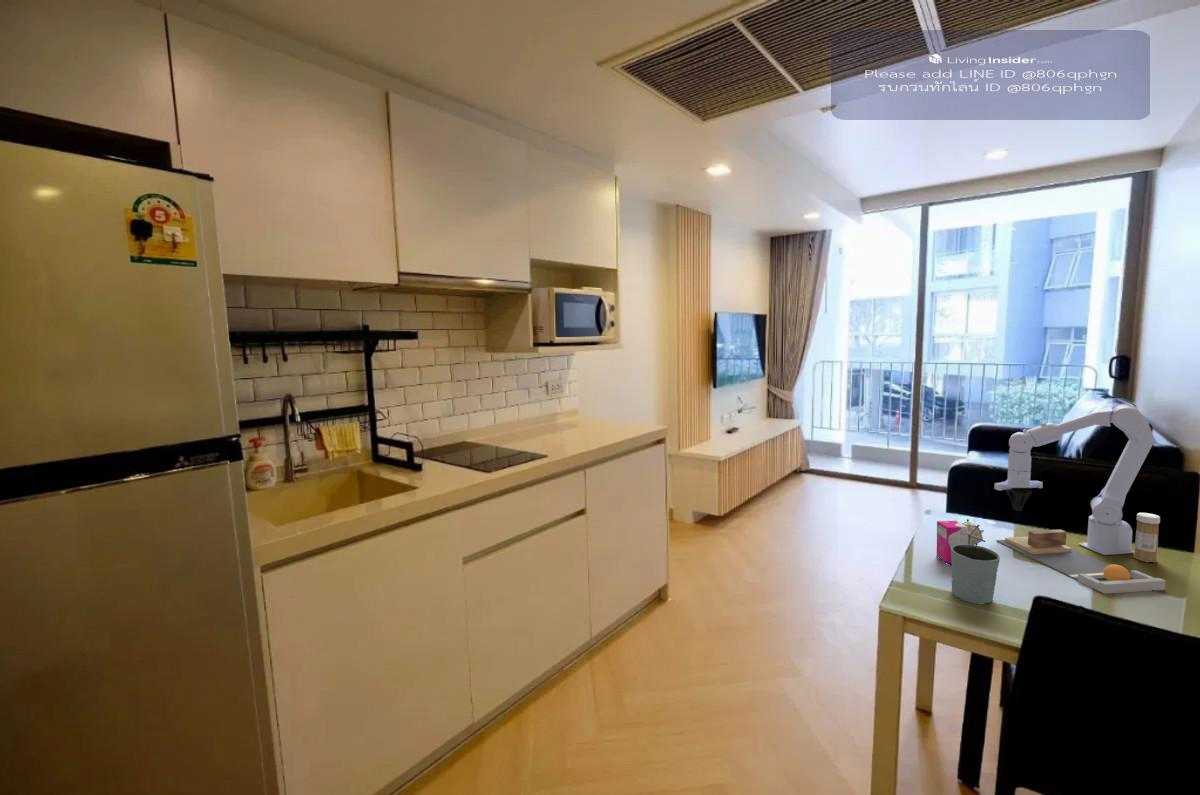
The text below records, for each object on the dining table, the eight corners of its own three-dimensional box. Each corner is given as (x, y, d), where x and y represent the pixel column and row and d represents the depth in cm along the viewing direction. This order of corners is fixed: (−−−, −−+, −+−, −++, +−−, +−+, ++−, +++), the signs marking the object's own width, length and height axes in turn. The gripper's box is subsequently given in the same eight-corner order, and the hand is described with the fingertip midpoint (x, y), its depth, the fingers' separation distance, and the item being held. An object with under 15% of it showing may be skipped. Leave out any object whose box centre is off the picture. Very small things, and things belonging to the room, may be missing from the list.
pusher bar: (1059, 542, 156) (1060, 529, 156) (1065, 545, 154) (1066, 531, 154) (1027, 544, 156) (1028, 531, 155) (1033, 547, 154) (1034, 533, 153)
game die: (975, 558, 161) (998, 540, 155) (949, 550, 161) (972, 532, 155) (964, 535, 168) (986, 517, 162) (940, 527, 168) (961, 509, 162)
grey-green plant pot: (951, 583, 139) (953, 540, 138) (998, 593, 133) (1000, 549, 131) (947, 598, 132) (948, 554, 130) (997, 610, 125) (999, 563, 124)
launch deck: (1044, 538, 165) (1045, 530, 164) (1164, 589, 131) (1165, 580, 131) (996, 541, 164) (996, 533, 164) (1104, 593, 130) (1105, 584, 130)
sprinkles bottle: (1158, 560, 146) (1162, 515, 145) (1154, 564, 144) (1158, 518, 142) (1135, 555, 150) (1139, 510, 149) (1131, 559, 148) (1134, 514, 146)
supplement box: (955, 556, 155) (957, 520, 154) (967, 565, 149) (969, 527, 148) (935, 556, 156) (936, 520, 154) (946, 565, 150) (947, 527, 148)
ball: (1137, 569, 132) (1134, 587, 133) (1117, 560, 137) (1114, 577, 138) (1118, 571, 132) (1116, 588, 133) (1099, 561, 137) (1096, 578, 138)
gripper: (1030, 465, 170) (1028, 504, 172) (987, 467, 170) (986, 507, 171) (1049, 470, 163) (1047, 511, 165) (1005, 473, 163) (1003, 514, 164)
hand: (1017, 510), depth 167 cm, fingers closed
